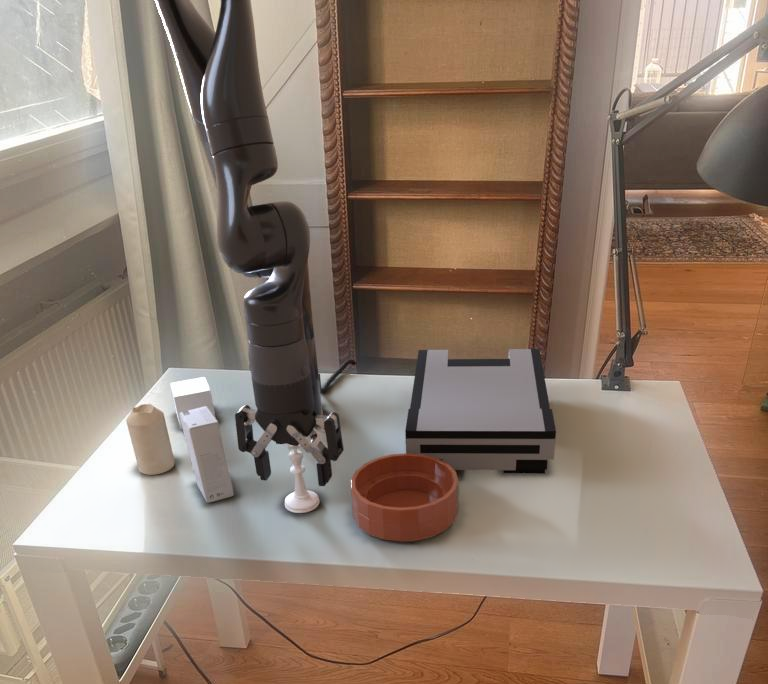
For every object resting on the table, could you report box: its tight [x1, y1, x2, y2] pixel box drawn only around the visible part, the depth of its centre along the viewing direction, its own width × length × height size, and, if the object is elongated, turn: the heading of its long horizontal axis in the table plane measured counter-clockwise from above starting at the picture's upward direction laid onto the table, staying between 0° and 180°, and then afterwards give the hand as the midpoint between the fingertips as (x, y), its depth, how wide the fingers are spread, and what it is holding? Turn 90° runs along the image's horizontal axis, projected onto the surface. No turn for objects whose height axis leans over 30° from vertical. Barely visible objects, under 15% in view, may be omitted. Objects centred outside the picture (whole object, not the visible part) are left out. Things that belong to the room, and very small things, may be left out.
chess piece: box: [284, 444, 320, 514], centre depth 108 cm, size 5×5×10 cm
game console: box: [404, 348, 557, 475], centre depth 124 cm, size 21×32×8 cm, turn 175°
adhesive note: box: [169, 376, 217, 430], centre depth 133 cm, size 6×6×6 cm
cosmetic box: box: [180, 406, 235, 503], centre depth 111 cm, size 6×4×12 cm
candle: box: [125, 403, 175, 476], centre depth 119 cm, size 6×6×10 cm
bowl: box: [350, 452, 459, 542], centre depth 106 cm, size 14×14×6 cm
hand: (294, 480), depth 108 cm, fingers open, 8 cm apart
